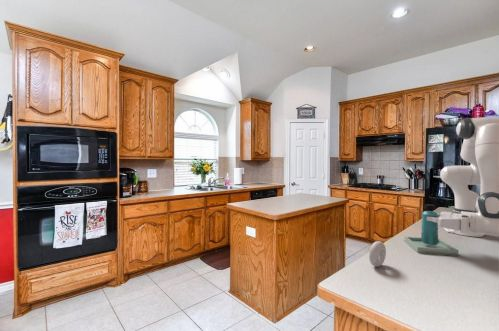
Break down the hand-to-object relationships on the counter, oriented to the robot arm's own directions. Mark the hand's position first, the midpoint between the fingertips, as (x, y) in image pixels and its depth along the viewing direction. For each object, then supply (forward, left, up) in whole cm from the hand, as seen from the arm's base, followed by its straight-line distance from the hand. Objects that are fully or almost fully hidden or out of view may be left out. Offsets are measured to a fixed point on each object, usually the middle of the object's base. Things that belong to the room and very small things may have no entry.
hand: (427, 216), depth 119 cm
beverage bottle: (0, +1, -14) cm, 14 cm away
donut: (+28, -29, -15) cm, 43 cm away
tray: (0, +1, -15) cm, 15 cm away
